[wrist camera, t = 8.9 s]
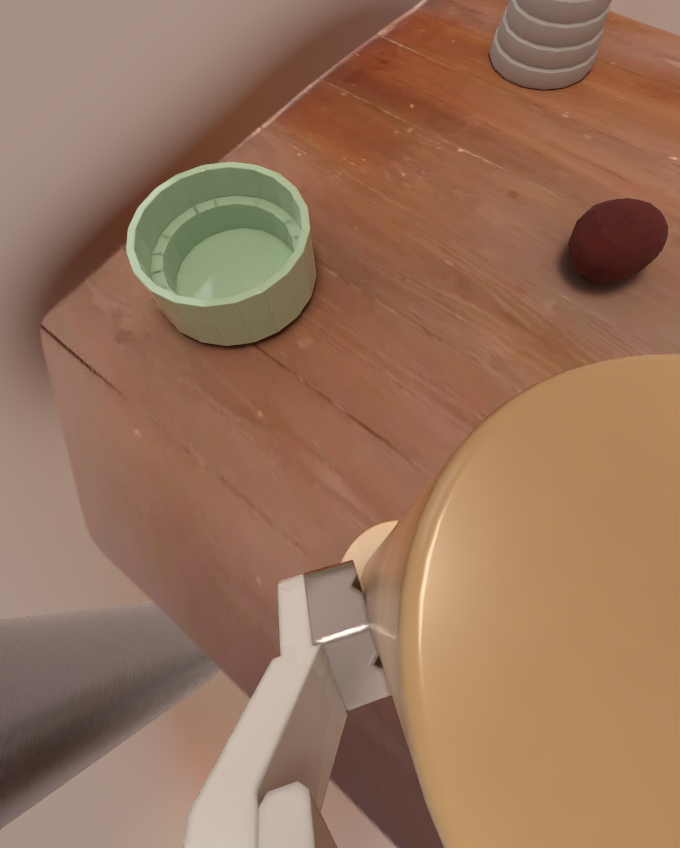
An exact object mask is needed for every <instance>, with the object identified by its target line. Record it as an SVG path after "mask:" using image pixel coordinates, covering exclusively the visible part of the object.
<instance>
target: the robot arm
mask: <svg viewBox="0 0 680 848" xmlns="http://www.w3.org/2000/svg"><path fill="white" fill-rule="evenodd" d="M277 590H278V611H279V633H280V655H281V656H280V657H277V658H274V659H272V661H271V663H270V664H269V666H268V668H267V670H266V672H265V673H264V675H263V677H262V679H261V681H260V683H259V684H258V686H257V688H256V690H255V692H254V694H253V695H252V697H251V699H250V701H249V703H248V705H247V706H246V708H245V710H244V712H243V714H242V716H241V718H240V719H239V721H238V723H237V725H236V727H235V728H234V730H233V732H232V734H231V736H230V738H229V739H228V741H227V743H226V745H225V747H224V749H223V750H222V752H221V754H220V756H219V758H218V760H217V761H216V763H215V765H214V767H213V769H212V771H211V772H210V774H209V776H208V778H207V780H206V782H205V783H204V785H203V787H202V789H201V791H200V792H199V794H198V796H197V798H196V800H195V802H194V803H193V805H192V807H191V809H190V811H189V813H188V814H187V820H186V829H185V835H184V843H183V848H337V846H336V844H335V842H334V840H333V837H332V836H331V833H330V831H329V830H328V828H327V825H326V823H325V821H324V819H323V817H322V815H321V813H320V811H321V808H322V804H323V801H324V797H325V793H326V790H327V786H328V782H329V779H330V775H331V772H332V768H333V764H334V761H335V757H336V754H337V750H338V746H339V743H340V739H341V735H342V732H343V728H344V725H345V721H346V717H347V713H346V711H349V710H351V709H354V708H357V707H360V706H362V705H365V704H368V703H370V702H373V701H376V700H379V699H381V698H384V697H387V696H390V695H391V691H390V688H389V684H388V681H387V678H386V675H385V671H384V668H383V665H382V662H381V659H380V656H379V652H378V649H377V646H376V643H375V640H374V636H373V633H372V630H371V626H370V623H369V619H368V614H367V608H366V602H365V598H364V595H363V592H362V588H361V585H360V581H359V578H358V574H357V571H356V568H355V564H354V561H353V560H349V561H346V562H342V563H338V564H335V565H331V566H328V567H324V568H321V569H317V570H313V571H310V572H306V573H304V574H301V575H298V576H294V577H290V578H287V579H283V580H279V583H278V587H277Z"/></svg>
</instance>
